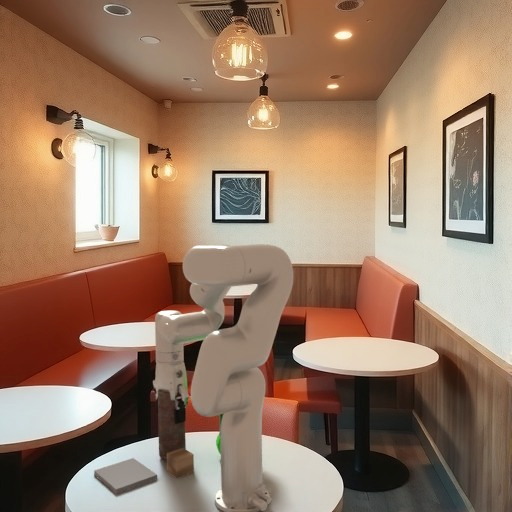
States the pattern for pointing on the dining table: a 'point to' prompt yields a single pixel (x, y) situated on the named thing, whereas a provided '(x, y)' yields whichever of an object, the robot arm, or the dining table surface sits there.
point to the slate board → (125, 475)
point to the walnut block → (180, 463)
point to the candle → (169, 425)
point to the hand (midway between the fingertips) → (170, 417)
